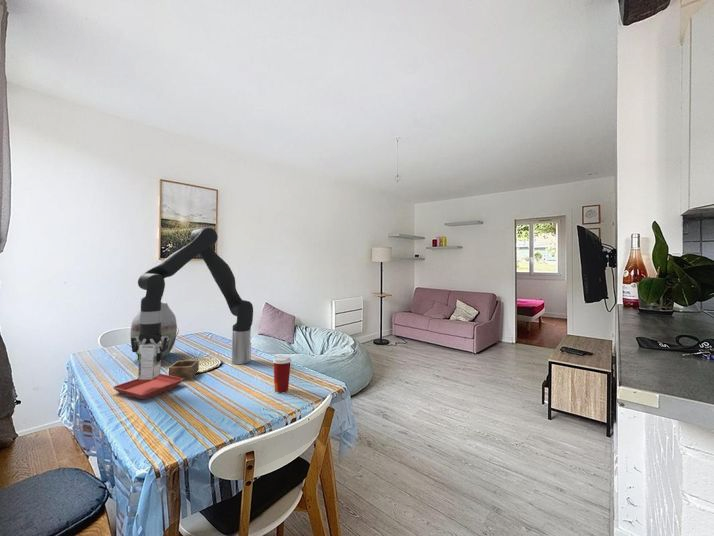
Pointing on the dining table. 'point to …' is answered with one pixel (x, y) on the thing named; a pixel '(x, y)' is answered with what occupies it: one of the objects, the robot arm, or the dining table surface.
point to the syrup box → (148, 362)
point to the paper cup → (281, 373)
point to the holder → (184, 369)
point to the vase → (166, 327)
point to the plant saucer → (148, 386)
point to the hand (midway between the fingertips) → (150, 361)
